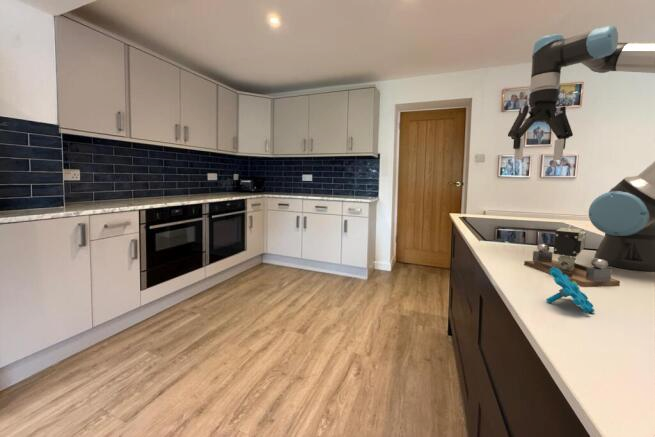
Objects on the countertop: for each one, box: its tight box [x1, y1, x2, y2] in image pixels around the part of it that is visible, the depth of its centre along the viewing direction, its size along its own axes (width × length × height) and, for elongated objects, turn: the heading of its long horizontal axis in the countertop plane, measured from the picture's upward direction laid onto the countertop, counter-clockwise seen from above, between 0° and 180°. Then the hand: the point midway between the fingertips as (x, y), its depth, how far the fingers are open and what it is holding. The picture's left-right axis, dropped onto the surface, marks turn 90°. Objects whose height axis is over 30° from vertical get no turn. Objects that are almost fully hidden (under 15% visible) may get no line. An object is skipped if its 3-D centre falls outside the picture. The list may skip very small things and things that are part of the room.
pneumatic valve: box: [552, 225, 587, 272], centre depth 81 cm, size 6×12×12 cm, turn 134°
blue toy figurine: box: [545, 267, 596, 314], centre depth 61 cm, size 11×6×10 cm
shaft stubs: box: [532, 243, 613, 282], centre depth 81 cm, size 4×19×5 cm, turn 5°
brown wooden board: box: [523, 259, 621, 288], centre depth 81 cm, size 10×19×2 cm, turn 5°
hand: (538, 159), depth 97 cm, fingers open, 13 cm apart
